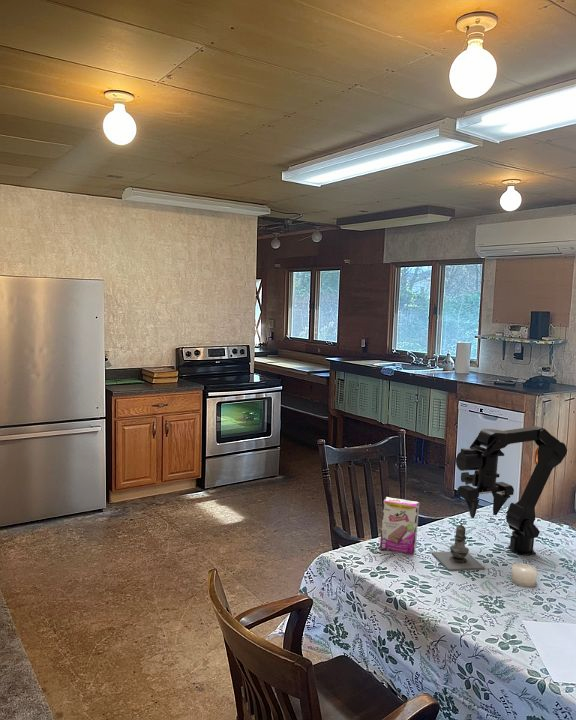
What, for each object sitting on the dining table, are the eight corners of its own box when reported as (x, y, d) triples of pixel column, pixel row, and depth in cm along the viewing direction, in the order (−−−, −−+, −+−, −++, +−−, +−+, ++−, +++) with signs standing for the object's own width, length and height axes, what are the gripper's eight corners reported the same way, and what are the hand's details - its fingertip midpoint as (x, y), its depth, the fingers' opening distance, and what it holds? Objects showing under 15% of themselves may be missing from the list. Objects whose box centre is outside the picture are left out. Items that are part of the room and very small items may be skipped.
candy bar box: (379, 549, 191) (382, 500, 189) (382, 543, 195) (385, 496, 194) (414, 555, 187) (417, 506, 185) (416, 549, 192) (419, 501, 190)
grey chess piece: (453, 564, 181) (456, 526, 180) (445, 555, 187) (448, 519, 185) (471, 563, 182) (474, 526, 181) (462, 555, 188) (465, 519, 186)
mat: (466, 552, 191) (466, 551, 191) (484, 569, 180) (484, 567, 179) (431, 553, 189) (431, 552, 189) (448, 570, 177) (448, 569, 177)
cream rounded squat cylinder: (527, 575, 177) (528, 562, 177) (541, 586, 170) (542, 573, 170) (506, 576, 176) (507, 563, 176) (519, 587, 169) (520, 574, 169)
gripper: (492, 460, 198) (488, 505, 200) (447, 464, 191) (444, 510, 192) (517, 469, 188) (512, 516, 190) (471, 474, 181) (467, 522, 182)
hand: (483, 516), depth 189 cm, fingers open, 9 cm apart
